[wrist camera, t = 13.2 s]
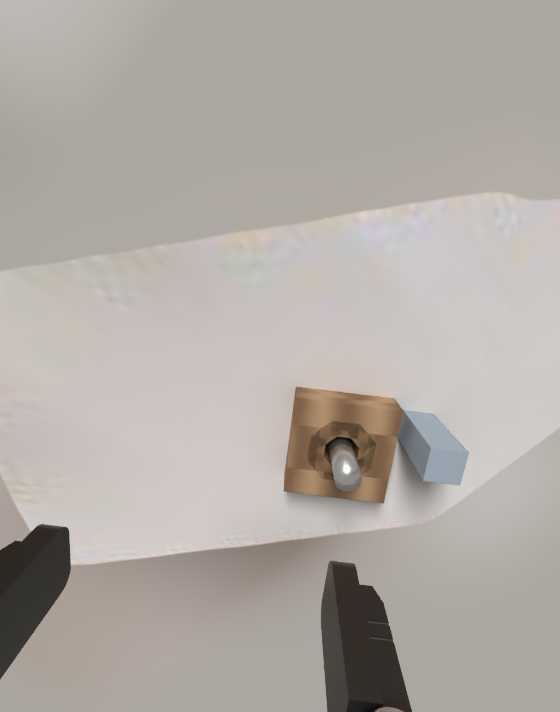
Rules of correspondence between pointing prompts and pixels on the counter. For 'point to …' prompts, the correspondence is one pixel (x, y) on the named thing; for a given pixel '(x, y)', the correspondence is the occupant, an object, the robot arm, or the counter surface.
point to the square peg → (432, 448)
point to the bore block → (341, 419)
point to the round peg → (344, 464)
